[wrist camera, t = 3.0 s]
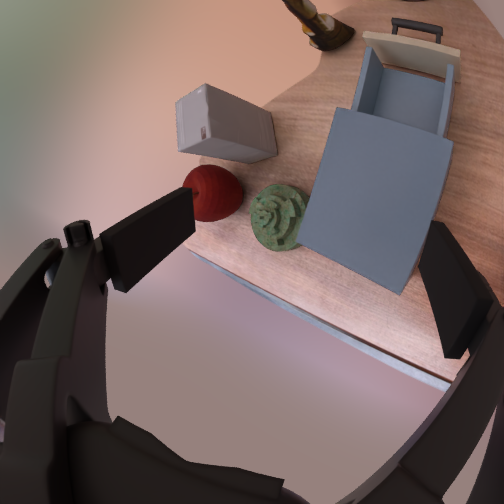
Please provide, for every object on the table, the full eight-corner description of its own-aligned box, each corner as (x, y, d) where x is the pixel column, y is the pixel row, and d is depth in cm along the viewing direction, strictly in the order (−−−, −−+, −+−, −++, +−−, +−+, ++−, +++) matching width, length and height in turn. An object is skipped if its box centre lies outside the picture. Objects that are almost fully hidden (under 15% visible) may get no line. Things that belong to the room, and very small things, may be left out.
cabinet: (359, 128, 33) (336, 106, 27) (451, 159, 26) (453, 141, 19) (325, 237, 39) (295, 241, 32) (409, 279, 31) (399, 295, 25)
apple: (209, 208, 54) (167, 208, 46) (224, 162, 50) (181, 155, 42) (242, 230, 49) (198, 233, 41) (260, 179, 45) (217, 172, 37)
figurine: (363, 39, 30) (294, -46, 14) (326, 62, 34) (242, -8, 19) (347, 22, 30) (275, -55, 15) (312, 45, 35) (229, -20, 20)
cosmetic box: (243, 124, 46) (171, 101, 34) (276, 110, 42) (204, 78, 29) (248, 167, 46) (172, 154, 34) (282, 157, 42) (207, 135, 30)
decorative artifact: (323, 239, 39) (303, 175, 40) (299, 243, 34) (277, 169, 35) (270, 256, 45) (254, 199, 46) (241, 262, 40) (224, 197, 41)
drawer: (383, 32, 27) (368, 5, 21) (462, 50, 20) (460, 22, 15) (355, 149, 33) (336, 136, 28) (441, 180, 27) (441, 171, 21)
